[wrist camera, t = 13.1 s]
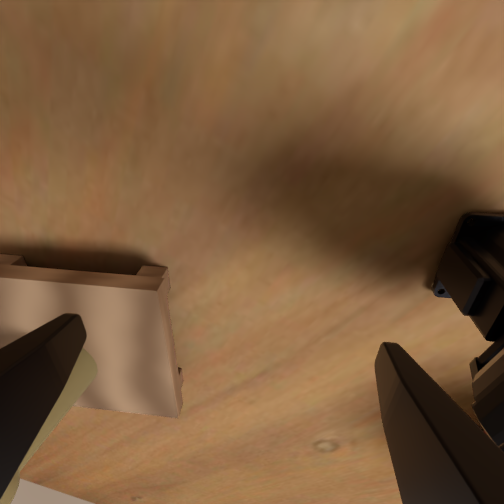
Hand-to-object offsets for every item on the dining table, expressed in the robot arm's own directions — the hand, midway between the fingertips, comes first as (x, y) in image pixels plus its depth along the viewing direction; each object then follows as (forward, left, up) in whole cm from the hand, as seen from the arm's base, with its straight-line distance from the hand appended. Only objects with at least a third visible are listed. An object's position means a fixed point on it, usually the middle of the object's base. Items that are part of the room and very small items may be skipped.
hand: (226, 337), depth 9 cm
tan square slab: (+14, +14, -13) cm, 24 cm away
